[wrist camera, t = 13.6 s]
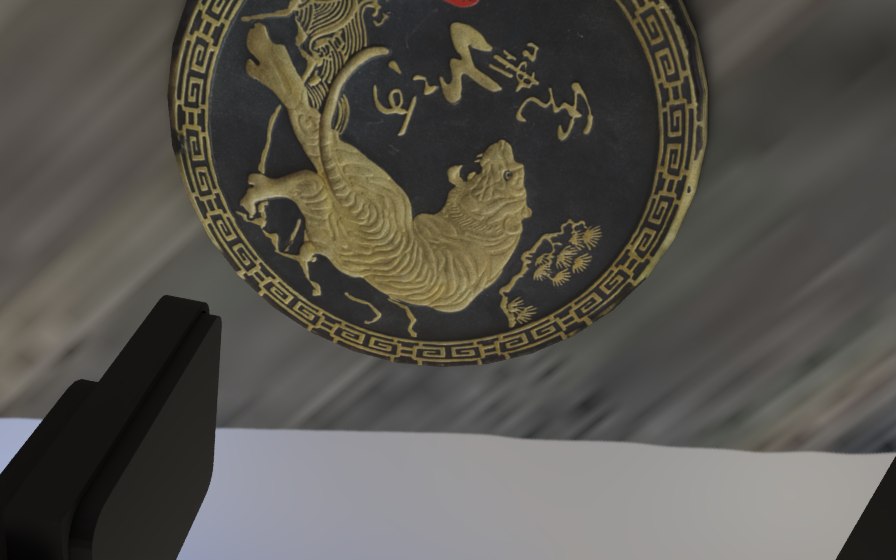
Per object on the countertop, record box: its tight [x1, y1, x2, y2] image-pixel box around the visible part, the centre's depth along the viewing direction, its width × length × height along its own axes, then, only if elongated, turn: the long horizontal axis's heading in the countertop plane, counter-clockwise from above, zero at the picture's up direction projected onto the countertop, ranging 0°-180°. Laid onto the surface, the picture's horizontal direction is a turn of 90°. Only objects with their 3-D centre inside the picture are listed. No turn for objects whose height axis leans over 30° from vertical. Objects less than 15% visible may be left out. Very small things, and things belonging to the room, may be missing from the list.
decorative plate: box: [167, 0, 708, 367], centre depth 47 cm, size 30×2×30 cm
